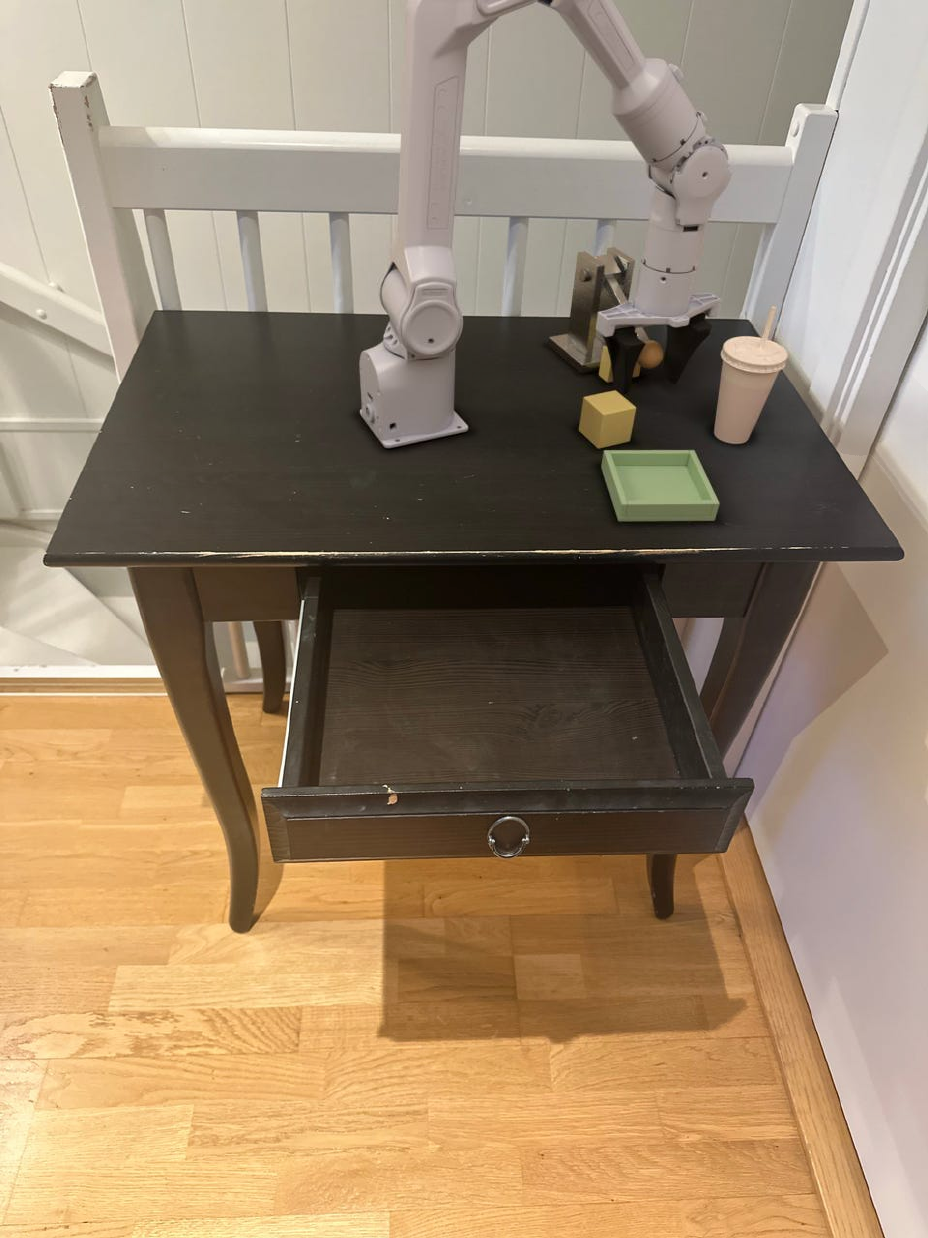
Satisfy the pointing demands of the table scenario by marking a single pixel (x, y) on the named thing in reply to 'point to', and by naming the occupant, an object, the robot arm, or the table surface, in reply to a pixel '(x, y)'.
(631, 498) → the dish
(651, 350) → the cutter lever
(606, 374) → the butter block
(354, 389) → the table surface
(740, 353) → the smoothie
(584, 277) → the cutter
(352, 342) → the table surface
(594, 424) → the yellow cube
